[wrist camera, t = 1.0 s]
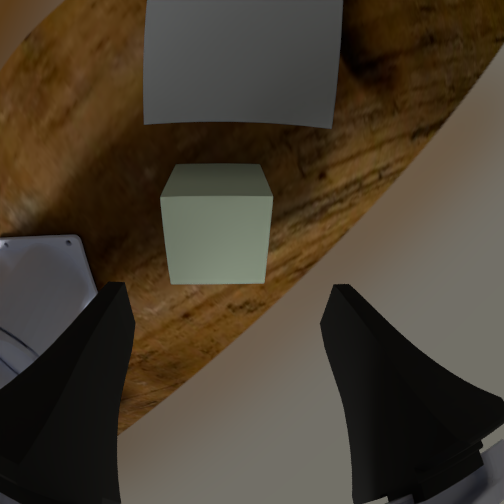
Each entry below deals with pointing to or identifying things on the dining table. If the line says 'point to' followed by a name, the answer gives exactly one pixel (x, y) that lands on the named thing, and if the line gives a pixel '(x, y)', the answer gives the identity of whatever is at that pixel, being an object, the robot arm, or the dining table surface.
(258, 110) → the gray plinth
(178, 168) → the green cube
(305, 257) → the dining table surface
